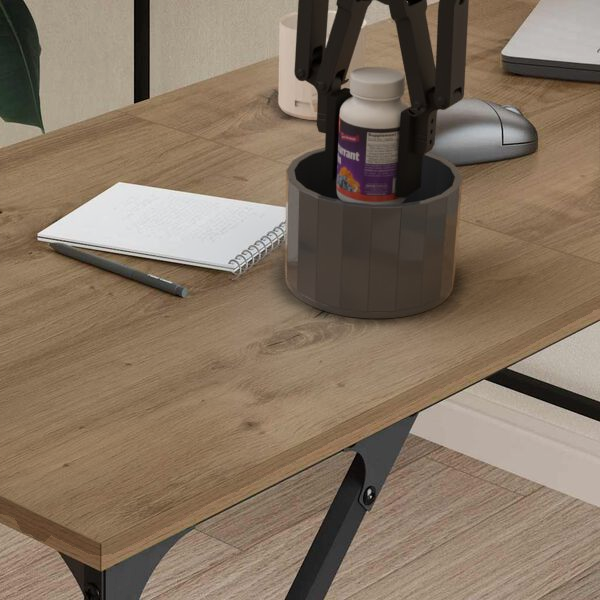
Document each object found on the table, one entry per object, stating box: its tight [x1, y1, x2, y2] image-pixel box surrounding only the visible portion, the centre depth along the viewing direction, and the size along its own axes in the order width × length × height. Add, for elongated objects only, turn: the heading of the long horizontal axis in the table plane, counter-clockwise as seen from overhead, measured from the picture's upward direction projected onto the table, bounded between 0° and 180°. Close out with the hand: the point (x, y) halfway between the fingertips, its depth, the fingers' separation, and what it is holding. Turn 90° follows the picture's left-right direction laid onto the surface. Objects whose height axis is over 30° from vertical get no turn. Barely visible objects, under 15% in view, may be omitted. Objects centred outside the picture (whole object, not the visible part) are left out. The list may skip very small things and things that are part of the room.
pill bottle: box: [337, 66, 411, 205], centre depth 100 cm, size 5×5×10 cm
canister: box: [284, 146, 464, 320], centre depth 103 cm, size 13×13×9 cm
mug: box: [277, 9, 368, 121], centre depth 139 cm, size 12×9×9 cm
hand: (372, 182), depth 101 cm, fingers closed on pill bottle, 5 cm apart
